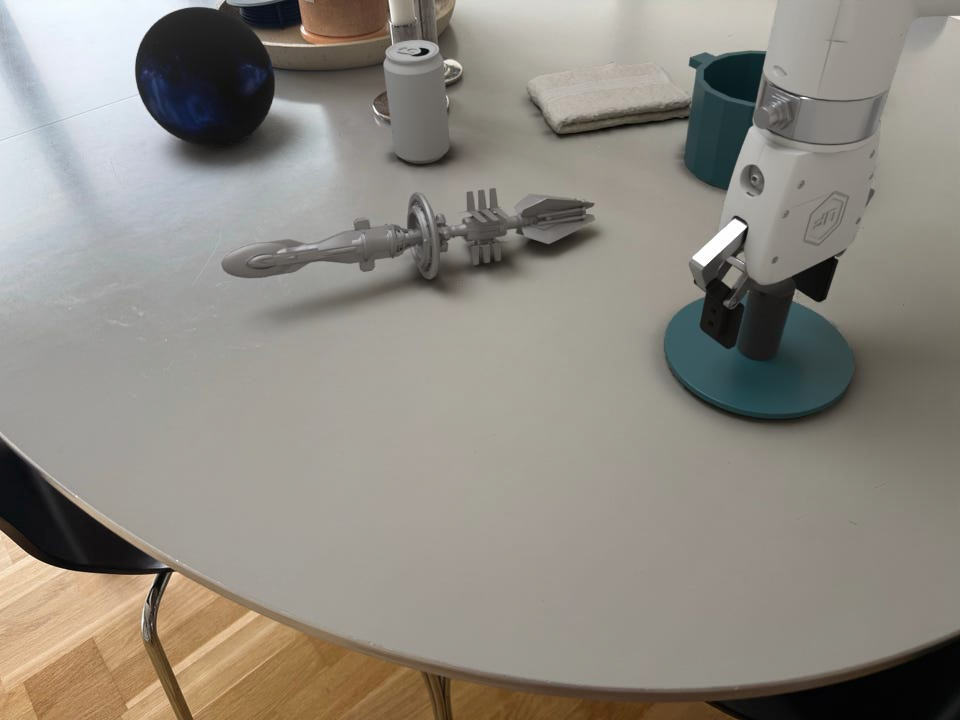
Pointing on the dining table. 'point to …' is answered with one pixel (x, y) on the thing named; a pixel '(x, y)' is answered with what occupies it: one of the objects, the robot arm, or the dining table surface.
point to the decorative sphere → (204, 76)
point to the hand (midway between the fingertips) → (763, 314)
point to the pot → (721, 112)
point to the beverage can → (417, 101)
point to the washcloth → (608, 96)
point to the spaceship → (418, 236)
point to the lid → (763, 357)
